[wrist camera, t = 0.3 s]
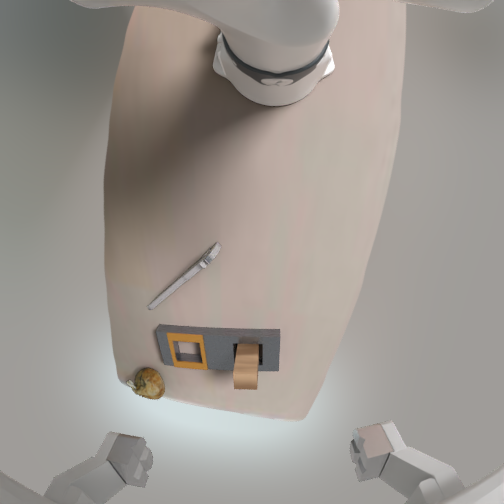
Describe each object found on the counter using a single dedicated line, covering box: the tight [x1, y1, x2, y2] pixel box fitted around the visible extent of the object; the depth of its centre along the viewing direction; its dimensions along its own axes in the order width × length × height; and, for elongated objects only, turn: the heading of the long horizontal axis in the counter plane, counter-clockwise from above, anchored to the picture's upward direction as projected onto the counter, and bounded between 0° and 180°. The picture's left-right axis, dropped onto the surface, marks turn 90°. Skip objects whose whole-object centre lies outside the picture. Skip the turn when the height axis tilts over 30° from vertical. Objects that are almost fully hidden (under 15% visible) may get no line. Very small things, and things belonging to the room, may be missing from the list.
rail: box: [156, 324, 280, 371], centre depth 54 cm, size 9×24×3 cm, turn 91°
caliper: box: [147, 242, 221, 310], centre depth 47 cm, size 20×1×6 cm, turn 132°
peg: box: [233, 344, 259, 390], centre depth 50 cm, size 4×4×10 cm
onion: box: [126, 368, 165, 399], centre depth 56 cm, size 8×8×8 cm
